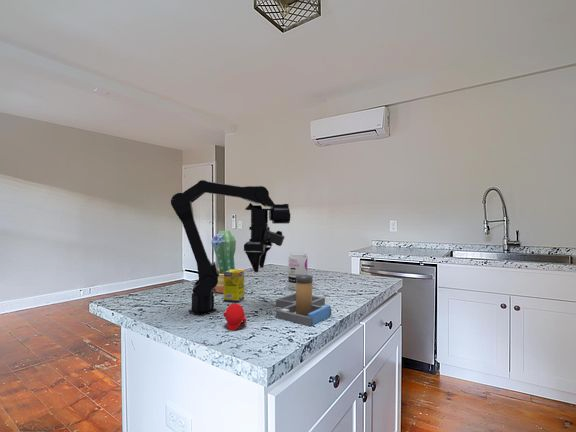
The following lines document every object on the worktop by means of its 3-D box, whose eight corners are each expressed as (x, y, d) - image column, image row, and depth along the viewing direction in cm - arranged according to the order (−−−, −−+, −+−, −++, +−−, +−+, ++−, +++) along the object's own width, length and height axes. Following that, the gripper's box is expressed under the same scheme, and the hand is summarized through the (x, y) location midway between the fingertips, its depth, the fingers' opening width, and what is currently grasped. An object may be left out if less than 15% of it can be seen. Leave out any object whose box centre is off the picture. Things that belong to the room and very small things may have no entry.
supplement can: (307, 286, 139) (307, 252, 139) (306, 291, 131) (307, 255, 131) (289, 286, 140) (289, 252, 140) (287, 290, 132) (287, 254, 132)
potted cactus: (204, 287, 135) (204, 230, 135) (238, 284, 142) (239, 229, 142) (211, 296, 121) (211, 231, 121) (249, 292, 128) (249, 231, 128)
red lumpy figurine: (224, 310, 93) (218, 304, 88) (243, 303, 94) (238, 297, 89) (230, 336, 89) (224, 332, 84) (250, 329, 90) (245, 324, 85)
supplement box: (238, 302, 113) (239, 272, 113) (223, 301, 114) (223, 271, 114) (244, 298, 119) (244, 269, 118) (229, 297, 120) (229, 269, 120)
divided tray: (310, 326, 89) (310, 315, 89) (256, 312, 101) (256, 302, 101) (345, 307, 107) (345, 298, 107) (296, 298, 119) (296, 289, 119)
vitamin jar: (301, 320, 94) (302, 278, 94) (292, 315, 99) (292, 275, 99) (315, 317, 97) (315, 276, 97) (305, 313, 101) (306, 274, 101)
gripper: (279, 224, 96) (278, 275, 96) (286, 223, 115) (286, 265, 115) (243, 224, 97) (243, 274, 97) (256, 222, 116) (256, 265, 116)
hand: (259, 269), depth 106 cm, fingers open, 9 cm apart
